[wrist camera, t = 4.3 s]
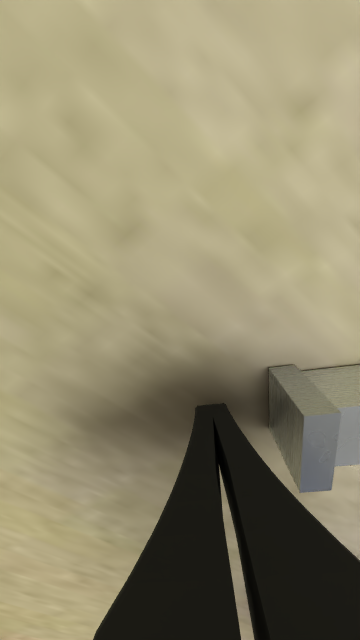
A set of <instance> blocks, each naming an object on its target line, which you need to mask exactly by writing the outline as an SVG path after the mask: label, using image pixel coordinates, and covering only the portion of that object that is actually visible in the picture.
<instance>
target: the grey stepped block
mask: <svg viewBox="0 0 360 640" xmlns="http://www.w3.org/2000/svg"><path fill="white" fill-rule="evenodd" d="M269 430H270V432H271V434H272V436H273V438H274V440H275V442H276V444H277V446H278V448H279V450H280V453H281V455H282V457H283V459H284V461H285V463H286V465H287V467H288V469H289V471H290V473H291V475H292V477H293V480H294V482H295V484H296V486H297V488H298V490H299V492H300V493H302V492H315V491H328V490H331V489H332V482H333V474H334V466H346V465H358V464H360V365H353V366H344V367H335V368H327V369H318V370H309V371H300V370H299V369H298V368H297V367H296V366H295V365H289V366H280V367H272V368H269Z"/></svg>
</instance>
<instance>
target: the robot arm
mask: <svg viewBox="0 0 360 640" xmlns="http://www.w3.org/2000/svg"><path fill="white" fill-rule="evenodd" d="M219 466H220V470H221V475H222V479H223V483H224V487H225V491H226V495H227V499H228V503H229V507H230V511H231V516H232V520H233V524H234V528H235V533H236V538H237V543H238V548H239V554H240V560H241V565H242V571H243V576H244V582H245V588H246V594H247V599H248V605H249V611H250V616H251V622H252V628H253V634H254V639H255V640H360V560H359V559H358V558H357V557H355V556H354V555H353V554H352V553H351V552H350V551H349V550H348V549H347V548H346V547H345V546H344V545H342V544H341V543H340V542H339V541H338V540H337V539H336V538H335V537H334V536H333V535H332V534H331V533H330V532H329V531H328V530H327V529H326V528H325V527H324V526H323V525H322V524H321V523H320V522H319V521H318V520H317V519H316V518H315V517H314V516H313V515H312V514H311V513H310V512H309V511H308V510H307V509H306V508H305V507H304V506H303V505H302V504H301V503H300V502H299V501H298V500H297V499H296V498H295V497H294V495H293V494H292V493H291V492H290V491H289V490H288V489H287V488H286V487H285V486H284V485H283V483H282V482H281V481H280V480H279V479H278V478H277V477H276V475H275V474H274V473H273V472H272V471H271V470H270V468H269V467H268V466H267V465H266V463H265V462H264V461H263V460H262V458H261V457H260V456H259V455H258V453H257V452H256V451H255V449H254V448H253V447H252V445H251V444H250V443H249V441H248V440H247V438H246V437H245V436H244V434H243V433H242V431H241V430H240V428H239V427H238V425H237V424H236V422H235V420H234V419H233V417H232V415H231V414H230V412H229V410H228V408H227V406H226V404H224V403H220V404H211V405H202V406H197V407H196V408H195V419H194V424H193V429H192V433H191V437H190V441H189V444H188V448H187V451H186V454H185V457H184V460H183V463H182V466H181V469H180V472H179V474H178V477H177V480H176V482H175V485H174V487H173V490H172V492H171V494H170V497H169V499H168V501H167V503H166V506H165V508H164V510H163V512H162V514H161V516H160V519H159V521H158V523H157V525H156V527H155V529H154V531H153V533H152V535H151V537H150V539H149V540H148V542H147V544H146V546H145V548H144V550H143V552H142V553H141V555H140V557H139V559H138V561H137V563H136V565H135V567H134V568H133V570H132V572H131V574H130V576H129V577H128V579H127V581H126V582H125V584H124V586H123V587H122V589H121V591H120V592H119V594H118V596H117V597H116V599H115V601H114V603H113V604H112V606H111V608H110V609H109V611H108V613H107V614H106V616H105V618H104V619H103V621H102V623H101V624H100V626H99V628H98V629H97V631H96V633H95V636H94V639H93V640H241V635H240V629H239V622H238V615H237V609H236V602H235V595H234V589H233V582H232V576H231V569H230V562H229V556H228V549H227V542H226V536H225V529H224V522H223V513H222V500H221V487H220V475H219Z"/></svg>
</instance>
